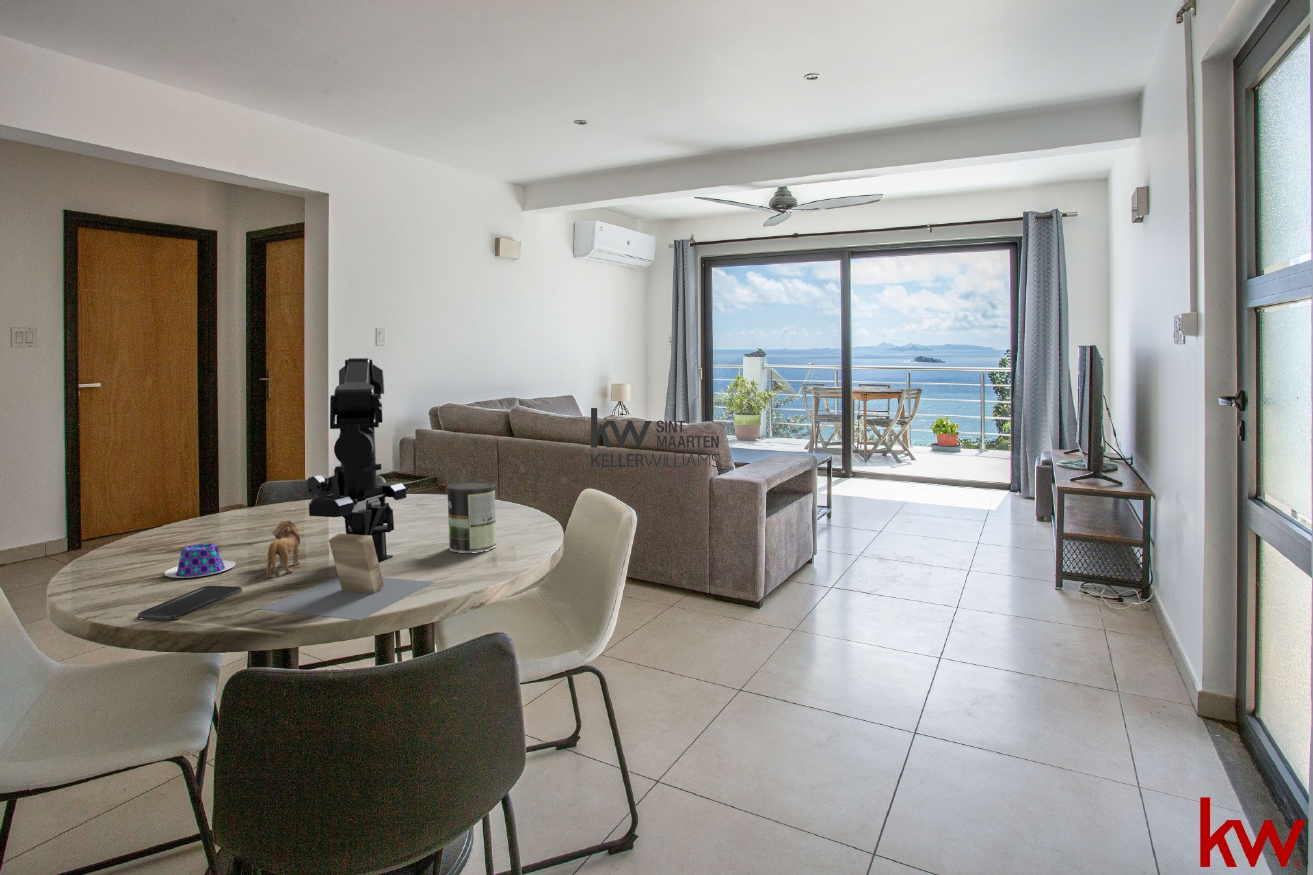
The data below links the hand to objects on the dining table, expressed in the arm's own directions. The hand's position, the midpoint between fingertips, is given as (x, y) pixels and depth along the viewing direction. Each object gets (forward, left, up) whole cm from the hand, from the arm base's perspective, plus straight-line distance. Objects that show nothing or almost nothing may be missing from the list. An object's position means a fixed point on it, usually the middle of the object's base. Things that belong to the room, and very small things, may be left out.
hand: (362, 546), depth 125 cm
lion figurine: (-8, -26, -8) cm, 28 cm away
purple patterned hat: (-3, -41, -9) cm, 42 cm away
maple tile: (0, 0, -7) cm, 7 cm away
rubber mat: (+3, 0, -8) cm, 9 cm away
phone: (+13, -24, -9) cm, 29 cm away
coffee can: (-32, +3, -8) cm, 33 cm away
